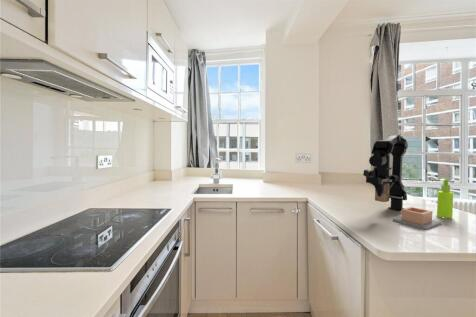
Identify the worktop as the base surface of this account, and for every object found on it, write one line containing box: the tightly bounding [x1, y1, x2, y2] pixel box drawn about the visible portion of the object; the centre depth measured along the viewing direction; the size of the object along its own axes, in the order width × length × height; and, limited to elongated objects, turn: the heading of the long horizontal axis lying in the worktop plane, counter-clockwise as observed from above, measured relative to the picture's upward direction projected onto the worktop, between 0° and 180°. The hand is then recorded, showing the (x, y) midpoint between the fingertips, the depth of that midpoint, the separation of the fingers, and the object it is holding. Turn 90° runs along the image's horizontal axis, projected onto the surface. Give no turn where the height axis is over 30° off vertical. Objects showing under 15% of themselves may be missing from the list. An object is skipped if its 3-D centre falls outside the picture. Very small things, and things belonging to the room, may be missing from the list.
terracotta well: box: [392, 206, 442, 231], centre depth 109 cm, size 14×14×6 cm
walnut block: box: [374, 183, 390, 203], centre depth 115 cm, size 4×4×9 cm
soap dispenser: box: [436, 178, 454, 219], centre depth 116 cm, size 6×7×20 cm
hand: (382, 195), depth 115 cm, fingers closed on walnut block, 4 cm apart
